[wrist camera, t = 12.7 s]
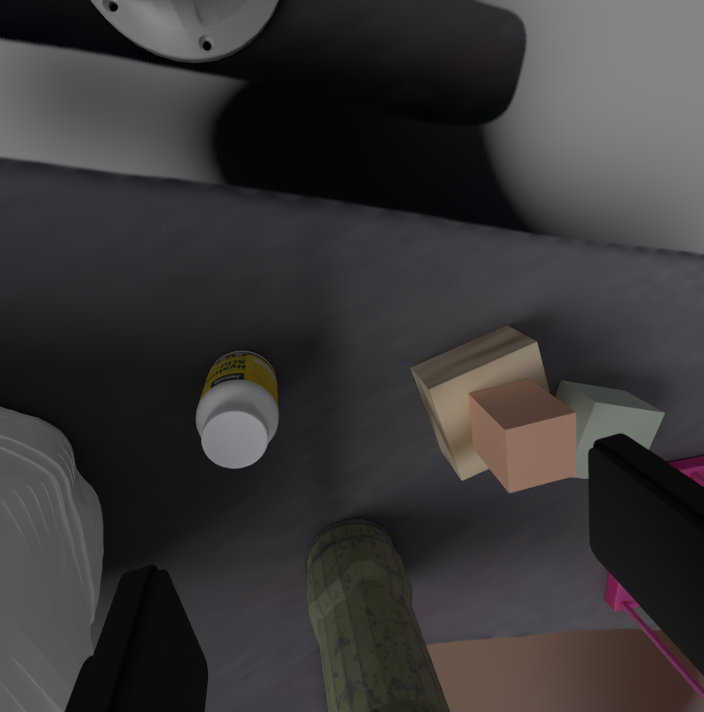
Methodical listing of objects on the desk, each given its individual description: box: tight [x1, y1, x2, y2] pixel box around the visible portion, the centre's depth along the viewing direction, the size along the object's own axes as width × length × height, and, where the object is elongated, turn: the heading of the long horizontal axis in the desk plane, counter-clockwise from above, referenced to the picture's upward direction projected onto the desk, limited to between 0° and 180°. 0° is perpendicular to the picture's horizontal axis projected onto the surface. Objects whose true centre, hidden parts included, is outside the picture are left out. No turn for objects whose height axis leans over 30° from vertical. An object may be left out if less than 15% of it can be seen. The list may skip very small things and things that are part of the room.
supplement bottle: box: [196, 351, 279, 469], centre depth 34 cm, size 5×5×10 cm
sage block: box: [555, 380, 665, 479], centre depth 43 cm, size 7×7×5 cm
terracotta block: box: [468, 379, 576, 493], centre depth 35 cm, size 5×5×6 cm
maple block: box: [411, 325, 550, 481], centre depth 40 cm, size 9×9×5 cm
